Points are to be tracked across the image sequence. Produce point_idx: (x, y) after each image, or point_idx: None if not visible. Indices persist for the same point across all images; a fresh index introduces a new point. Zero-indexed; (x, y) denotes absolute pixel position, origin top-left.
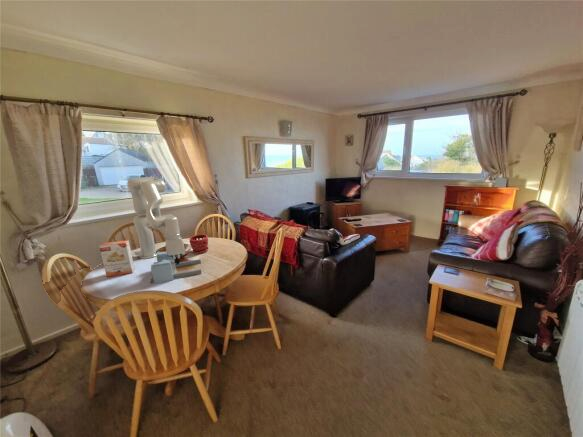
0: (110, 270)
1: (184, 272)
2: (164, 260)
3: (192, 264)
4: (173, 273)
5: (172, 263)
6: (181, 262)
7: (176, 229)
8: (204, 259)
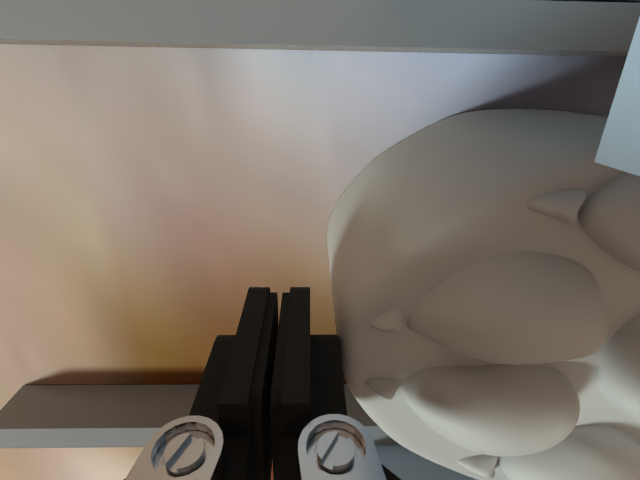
0: None
1: (146, 22)
2: (579, 477)
3: (134, 386)
4: (371, 170)
5: (400, 305)
6: None
7: None
8: (8, 460)
